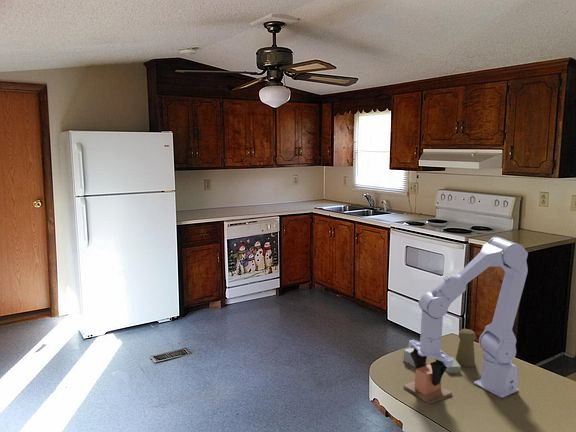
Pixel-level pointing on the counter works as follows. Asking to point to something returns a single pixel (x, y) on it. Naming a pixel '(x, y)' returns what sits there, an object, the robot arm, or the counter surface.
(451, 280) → the robot arm
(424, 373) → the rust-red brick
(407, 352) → the white square brick
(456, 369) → the flat olive brick
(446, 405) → the counter surface
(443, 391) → the walnut board
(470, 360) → the cork
